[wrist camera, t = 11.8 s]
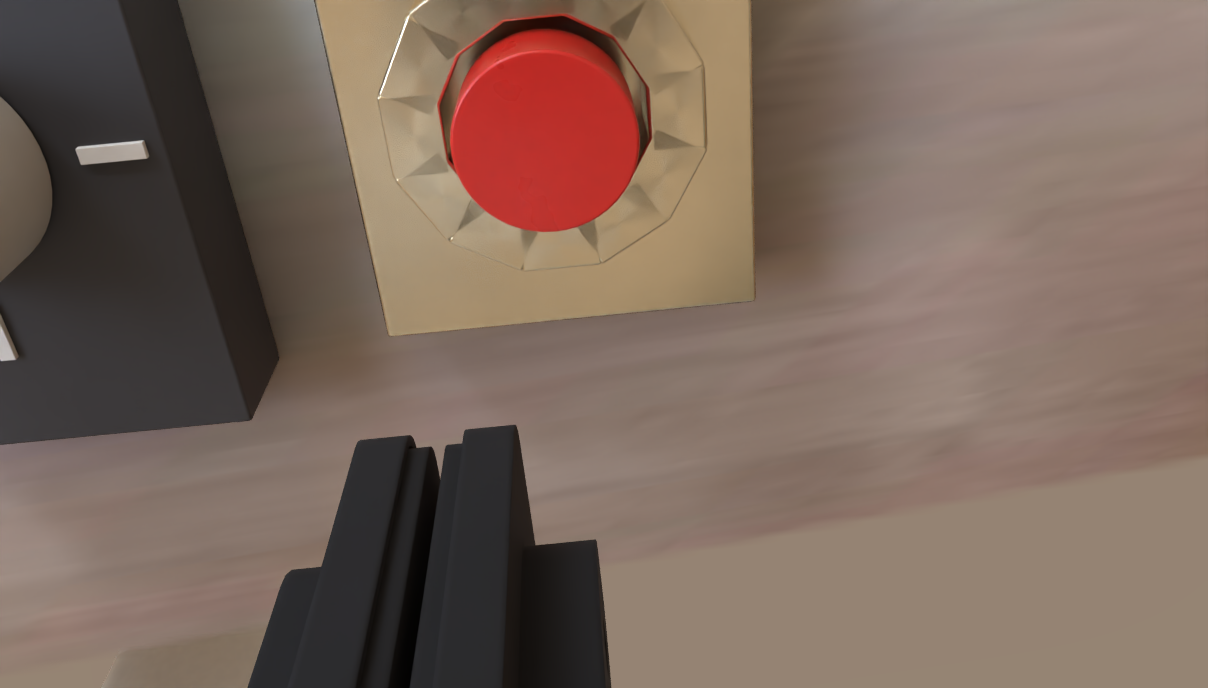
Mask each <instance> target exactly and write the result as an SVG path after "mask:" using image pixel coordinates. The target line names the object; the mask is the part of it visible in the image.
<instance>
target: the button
mask: <svg viewBox="0 0 1208 688" xmlns="http://www.w3.org/2000/svg"><path fill="white" fill-rule="evenodd" d="M450 148H451V156H452V160H453V164H454V167H455V170H456V172H457V175H458V177H459V179H460V181H461V183H462V185H463V187H464V188H465V189H466V191H467V192H468V194H469V195H470V196H471V198H472V199H473V200H474V201H475V202H476V203H477V204H478V205H479V206H480V207H481V208H482V209H484V210H485V211H486V212H487V213H489V214H490V215H492V216H493V217H495V218H496V219H498V220H500V221H502V222H504V223H506V224H508V225H511V226H514V227H517V228H520V229H524V230H529V231H537V232H557V231H563V230H568V229H572V228H575V227H579V226H581V225H583V224H586V223H588V222H590V221H592V220H594V219H595V218H597V217H599V216H600V215H602V214H603V213H604V212H606V211H607V210H608V209H609V208H610V207H611V206H613V205H614V204H615V203H616V202H617V201H618V199H619V198H620V197H621V195H622V194H623V193H624V192H625V190H626V188H627V187H628V185H629V183H630V181H631V179H632V177H633V174H634V172H635V169H636V165H637V162H638V157H639V150H640V134H639V126H638V121H637V117H636V113H635V108H634V104H633V100H632V96H631V93H630V89H629V86H628V84H627V82H626V80H625V77H624V76H623V74H622V72H621V71H620V69H619V67H618V66H617V65H616V64H615V62H614V61H613V60H612V58H611V57H610V56H608V55H607V54H606V53H605V52H604V51H603V50H602V49H601V48H599V47H598V46H597V45H595V44H594V43H592V42H591V41H589V40H587V39H585V38H583V37H581V36H578V35H576V34H573V33H570V32H566V31H562V30H556V29H532V30H526V31H522V32H518V33H515V34H512V35H510V36H508V37H505V38H503V39H501V40H500V41H498V42H496V43H495V44H493V45H492V46H490V47H489V48H488V49H487V50H486V51H485V52H483V53H482V54H481V55H480V57H479V58H478V59H477V60H476V61H475V62H474V64H473V65H472V67H471V68H470V70H469V71H468V73H467V75H466V77H465V79H464V81H463V83H462V86H461V89H460V93H459V96H458V100H457V103H456V107H455V111H454V114H453V118H452V123H451V129H450Z"/></svg>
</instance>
